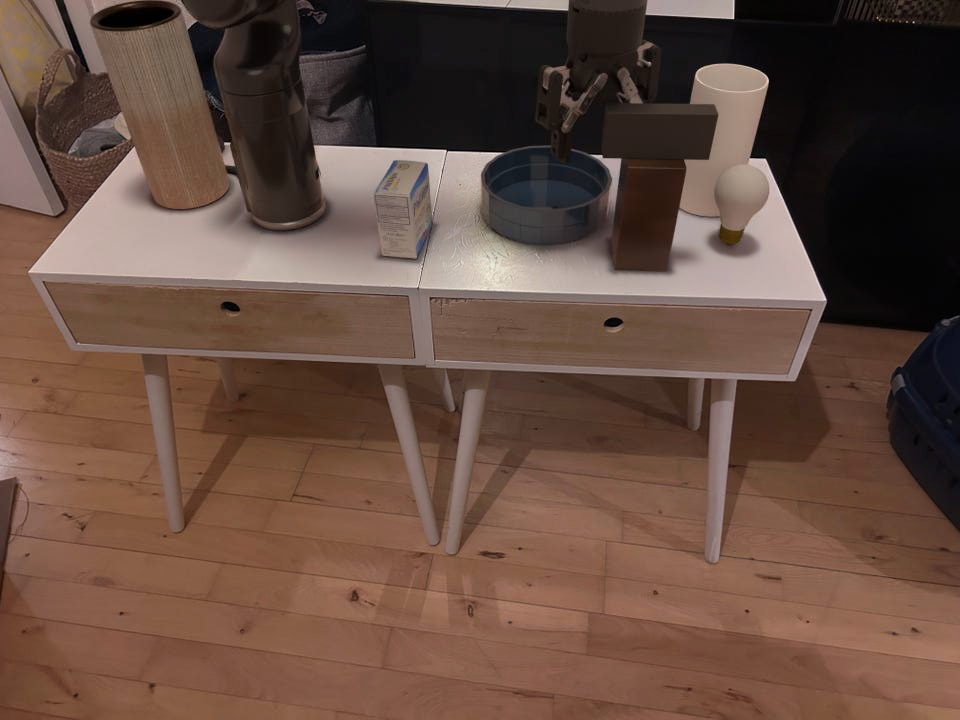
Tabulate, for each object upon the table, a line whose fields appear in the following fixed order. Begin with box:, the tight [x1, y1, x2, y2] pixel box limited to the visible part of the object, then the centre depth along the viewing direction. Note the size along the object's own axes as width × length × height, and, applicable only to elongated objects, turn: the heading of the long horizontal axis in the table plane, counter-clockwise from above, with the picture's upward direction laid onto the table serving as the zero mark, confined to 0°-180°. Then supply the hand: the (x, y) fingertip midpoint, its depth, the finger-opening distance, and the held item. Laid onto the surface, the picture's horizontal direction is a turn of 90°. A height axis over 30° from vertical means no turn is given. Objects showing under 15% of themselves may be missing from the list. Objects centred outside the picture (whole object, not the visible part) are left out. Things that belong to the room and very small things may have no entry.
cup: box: [679, 63, 770, 218], centre depth 90 cm, size 8×8×16 cm
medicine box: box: [373, 159, 434, 260], centre depth 87 cm, size 8×4×9 cm, turn 168°
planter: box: [89, 0, 230, 210], centre depth 92 cm, size 10×10×23 cm
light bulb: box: [714, 164, 770, 246], centre depth 85 cm, size 6×6×10 cm
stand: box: [610, 159, 687, 272], centre depth 83 cm, size 6×6×13 cm
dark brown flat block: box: [600, 102, 718, 160], centre depth 76 cm, size 11×2×5 cm, turn 86°
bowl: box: [480, 145, 613, 246], centre depth 93 cm, size 16×16×5 cm
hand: (592, 150), depth 82 cm, fingers open, 8 cm apart
